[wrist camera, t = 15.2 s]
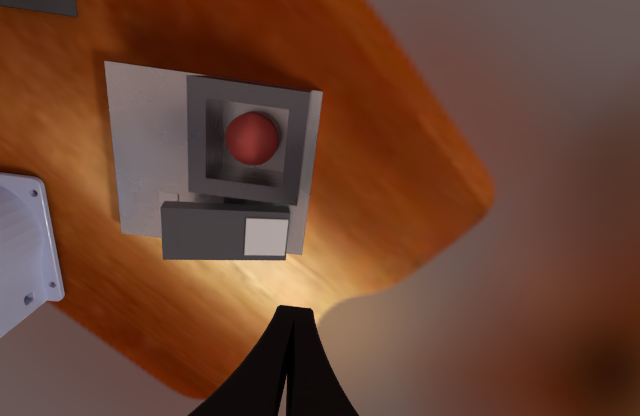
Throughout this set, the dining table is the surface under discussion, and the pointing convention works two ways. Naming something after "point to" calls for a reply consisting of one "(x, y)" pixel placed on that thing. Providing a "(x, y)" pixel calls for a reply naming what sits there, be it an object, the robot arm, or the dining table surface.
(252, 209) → the block
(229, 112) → the panel
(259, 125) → the button
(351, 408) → the robot arm
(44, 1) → the pad
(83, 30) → the dining table surface
